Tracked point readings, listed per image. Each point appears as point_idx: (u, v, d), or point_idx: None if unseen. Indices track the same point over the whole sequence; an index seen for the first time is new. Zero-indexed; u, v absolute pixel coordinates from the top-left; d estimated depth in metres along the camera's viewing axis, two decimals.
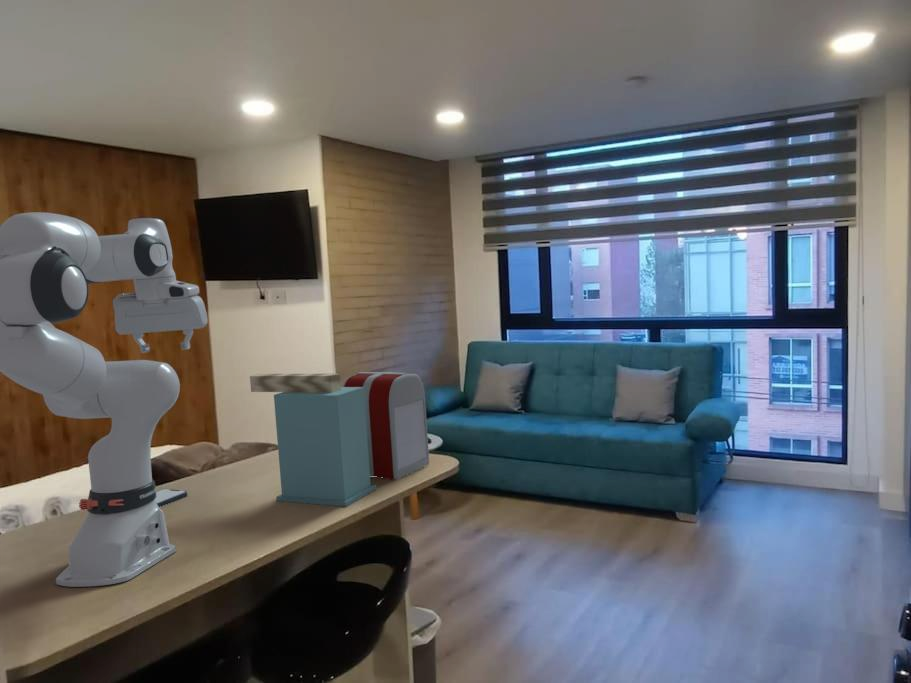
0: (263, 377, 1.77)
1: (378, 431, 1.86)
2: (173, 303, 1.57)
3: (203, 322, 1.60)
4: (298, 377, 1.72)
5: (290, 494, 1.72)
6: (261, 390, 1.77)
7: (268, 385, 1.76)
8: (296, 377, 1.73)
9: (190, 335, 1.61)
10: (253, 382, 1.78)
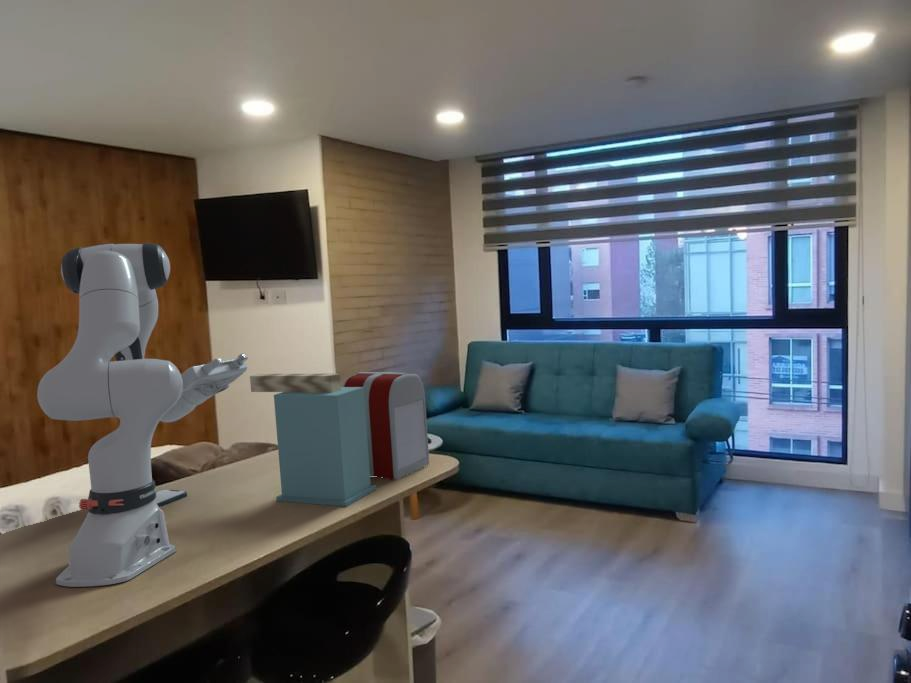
0: (263, 377, 1.77)
1: (378, 431, 1.86)
2: None
3: None
4: (298, 377, 1.72)
5: (290, 494, 1.72)
6: (261, 390, 1.77)
7: (268, 385, 1.76)
8: (296, 377, 1.73)
9: None
10: (253, 382, 1.78)
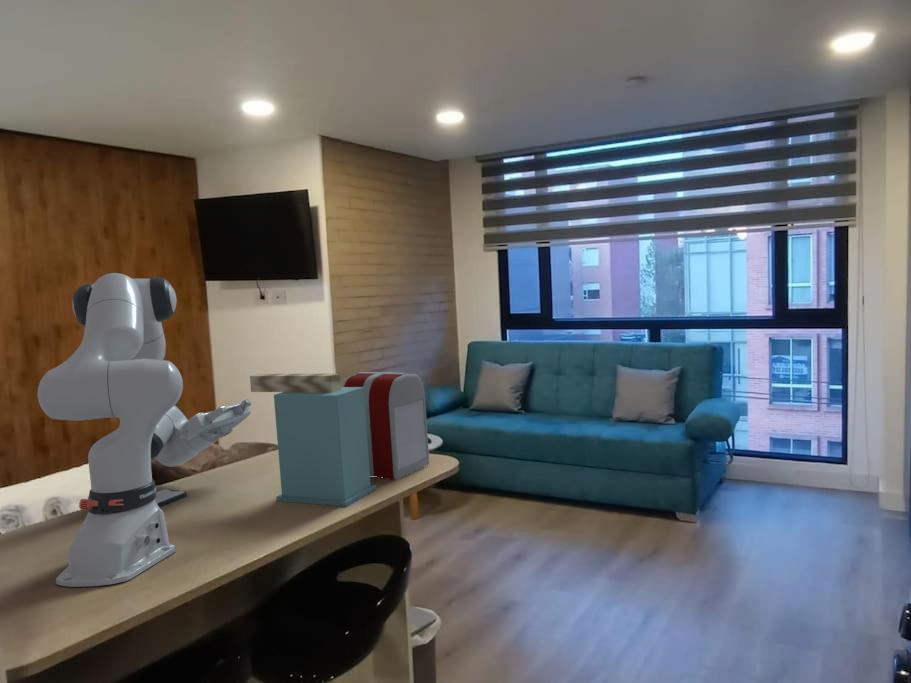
0: (263, 377, 1.77)
1: (378, 431, 1.86)
2: None
3: None
4: (298, 377, 1.72)
5: (290, 494, 1.72)
6: (261, 390, 1.77)
7: (268, 385, 1.76)
8: (296, 377, 1.73)
9: None
10: (253, 382, 1.78)
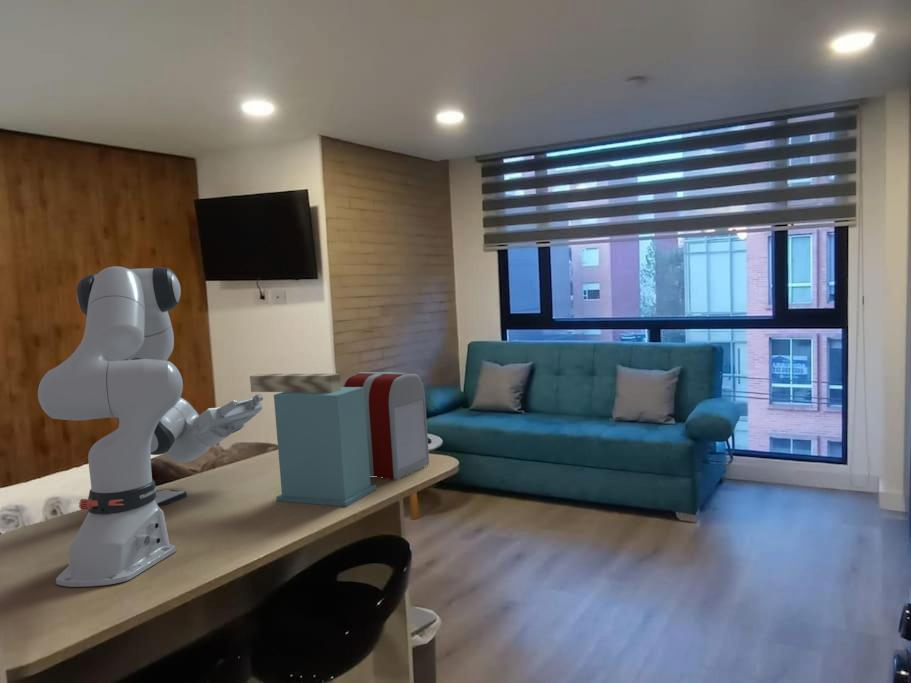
0: (263, 377, 1.77)
1: (378, 431, 1.86)
2: None
3: None
4: (298, 377, 1.72)
5: (290, 494, 1.72)
6: (261, 390, 1.77)
7: (268, 385, 1.76)
8: (296, 377, 1.73)
9: None
10: (253, 382, 1.78)
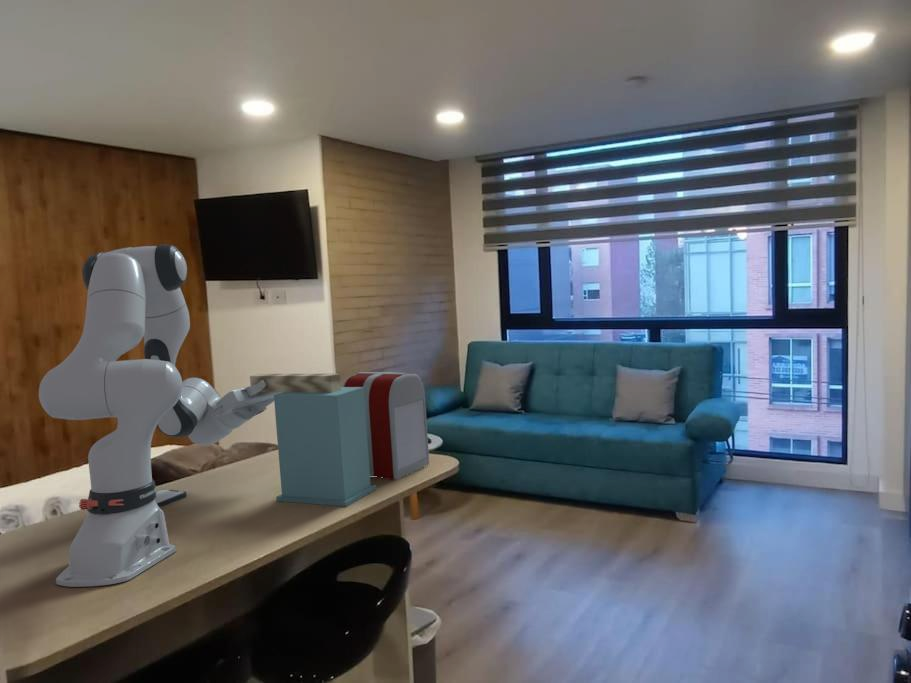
0: (263, 377, 1.77)
1: (378, 431, 1.86)
2: None
3: None
4: (298, 377, 1.72)
5: (290, 494, 1.72)
6: (261, 390, 1.77)
7: (268, 385, 1.76)
8: (296, 377, 1.73)
9: None
10: (253, 382, 1.78)
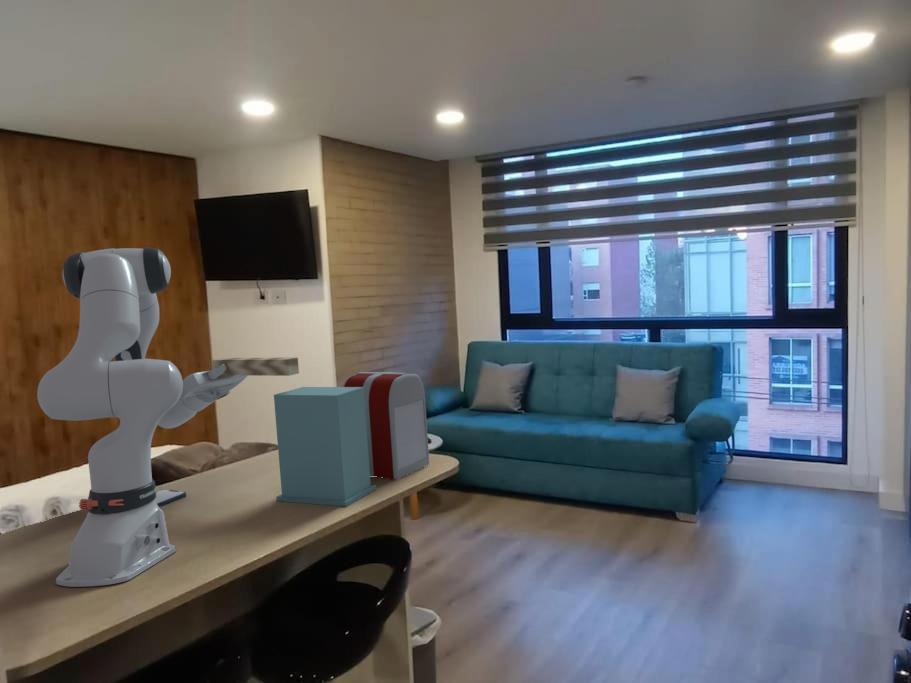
0: (224, 361, 1.81)
1: (378, 431, 1.86)
2: None
3: None
4: (257, 361, 1.77)
5: (290, 494, 1.72)
6: (222, 373, 1.82)
7: (229, 368, 1.81)
8: (255, 361, 1.77)
9: None
10: (215, 366, 1.82)
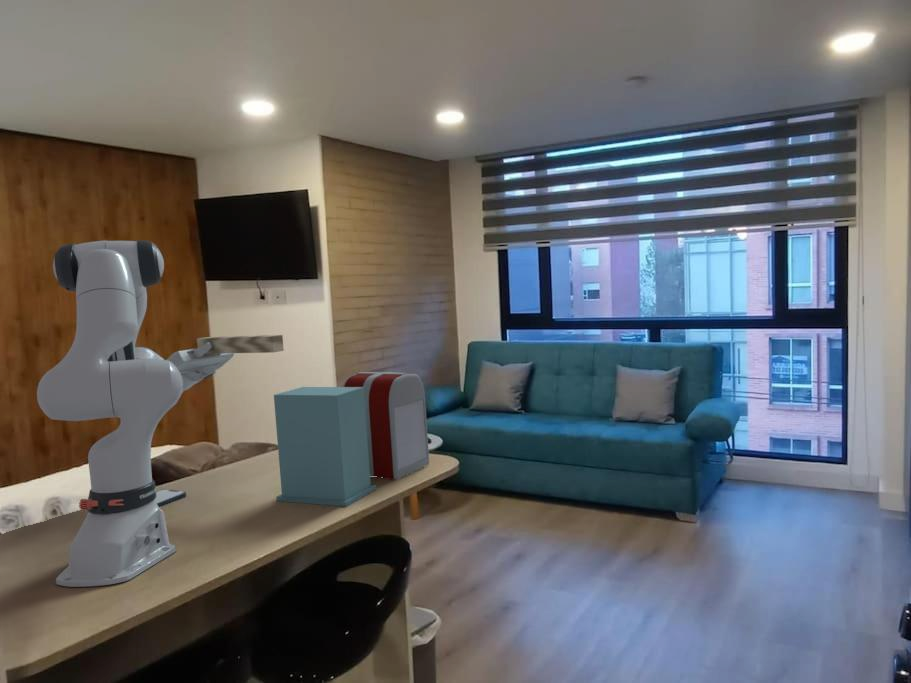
0: (209, 339, 1.82)
1: (378, 431, 1.86)
2: None
3: None
4: (242, 338, 1.78)
5: (290, 494, 1.72)
6: (207, 352, 1.83)
7: (214, 346, 1.82)
8: (240, 338, 1.78)
9: None
10: (200, 344, 1.83)
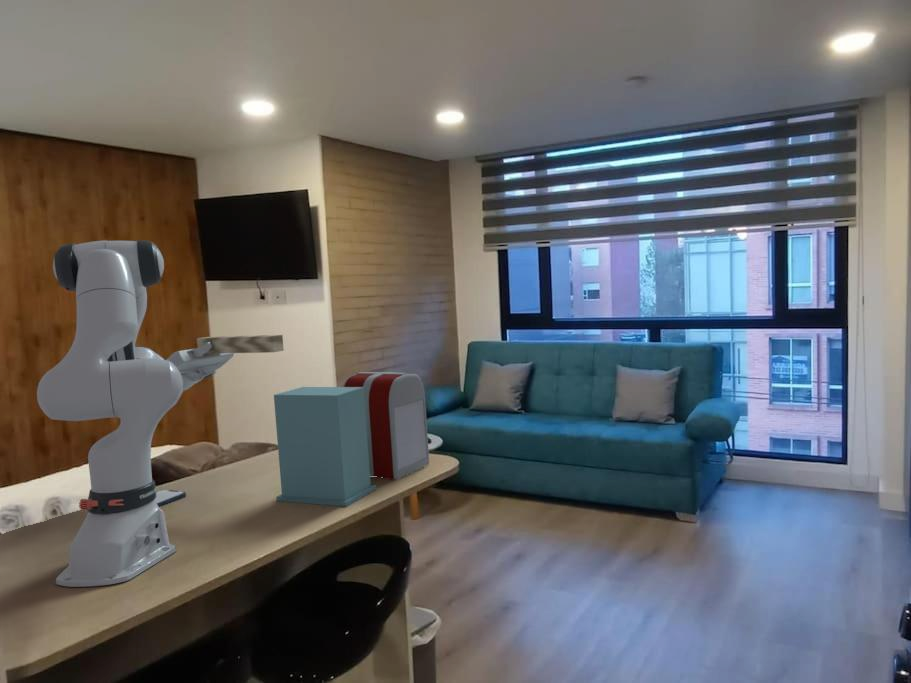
0: (209, 339, 1.82)
1: (378, 431, 1.86)
2: None
3: None
4: (242, 338, 1.78)
5: (290, 494, 1.72)
6: (207, 352, 1.83)
7: (214, 346, 1.82)
8: (240, 338, 1.78)
9: None
10: (200, 344, 1.83)
